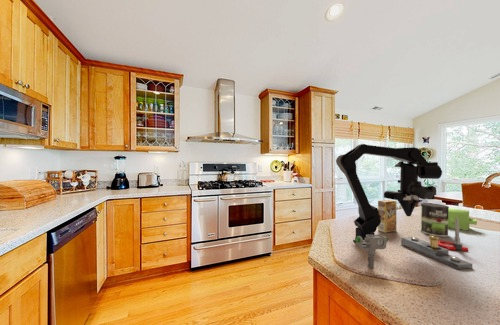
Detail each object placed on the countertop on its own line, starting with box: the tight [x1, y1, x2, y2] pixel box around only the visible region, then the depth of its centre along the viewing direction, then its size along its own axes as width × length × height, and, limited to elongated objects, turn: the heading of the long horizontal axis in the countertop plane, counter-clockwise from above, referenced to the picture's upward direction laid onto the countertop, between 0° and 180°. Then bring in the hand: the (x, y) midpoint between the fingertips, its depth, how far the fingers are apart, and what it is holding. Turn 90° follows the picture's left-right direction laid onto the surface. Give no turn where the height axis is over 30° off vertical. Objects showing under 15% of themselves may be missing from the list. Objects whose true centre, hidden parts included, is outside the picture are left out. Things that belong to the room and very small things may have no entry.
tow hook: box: [438, 218, 469, 252], centre depth 85 cm, size 8×13×9 cm
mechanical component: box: [354, 234, 389, 269], centre depth 67 cm, size 3×10×10 cm, turn 95°
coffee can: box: [420, 202, 450, 238], centre depth 102 cm, size 10×10×14 cm
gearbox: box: [448, 207, 478, 231], centre depth 113 cm, size 18×10×10 cm, turn 40°
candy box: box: [377, 199, 397, 234], centre depth 104 cm, size 9×4×15 cm, turn 114°
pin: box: [428, 235, 440, 250], centre depth 76 cm, size 3×3×7 cm
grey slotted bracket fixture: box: [400, 236, 473, 270], centre depth 76 cm, size 6×21×4 cm, turn 9°
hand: (408, 216), depth 84 cm, fingers closed
